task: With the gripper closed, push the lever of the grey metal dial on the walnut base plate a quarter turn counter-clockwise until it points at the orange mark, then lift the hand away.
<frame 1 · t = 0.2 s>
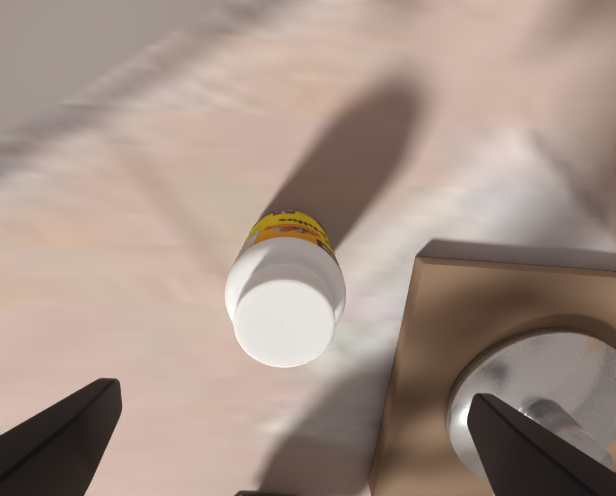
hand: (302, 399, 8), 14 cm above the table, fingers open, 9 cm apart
dial base: (517, 390, 27), on the table
supplement bottle: (288, 245, 22), on the table
dial: (550, 449, 23), point 4 cm above the table, hinge at 0.0°
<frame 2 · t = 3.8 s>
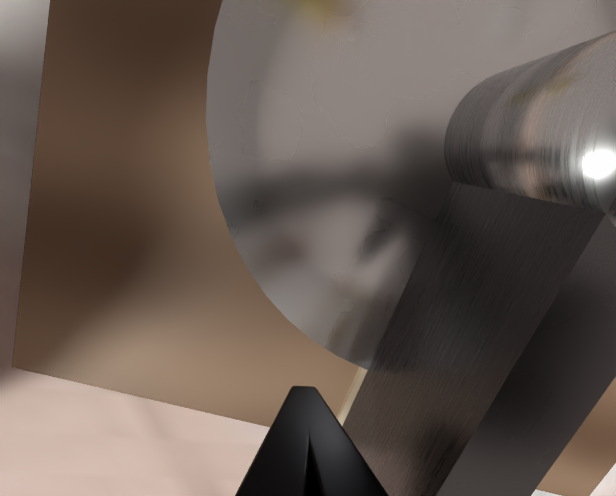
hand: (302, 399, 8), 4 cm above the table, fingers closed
dial base: (452, 142, 10), on the table
dial: (517, 212, 7), point 4 cm above the table, hinge at 0.8°, touching gripper
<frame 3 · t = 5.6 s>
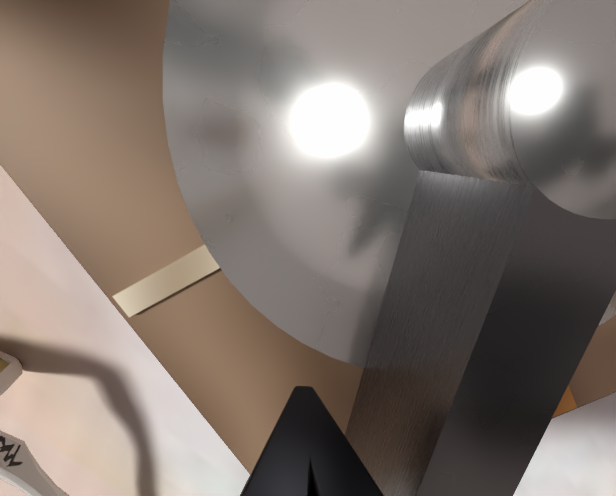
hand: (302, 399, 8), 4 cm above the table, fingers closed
dial base: (425, 129, 10), on the table
dial: (481, 193, 6), point 4 cm above the table, hinge at 50.2°, touching gripper
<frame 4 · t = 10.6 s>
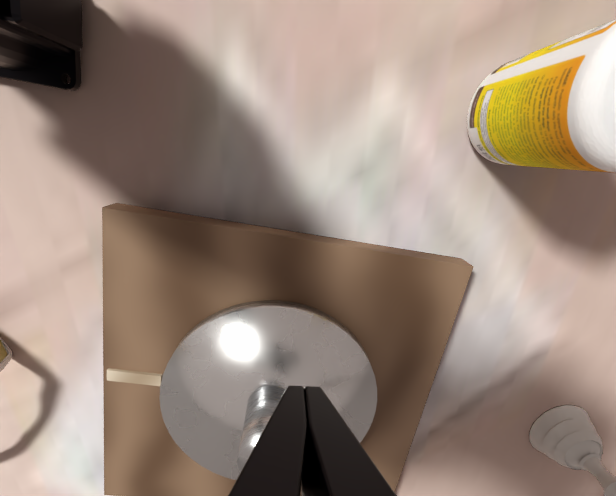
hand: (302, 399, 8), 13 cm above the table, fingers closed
dial base: (272, 376, 23), on the table
supplement bottle: (506, 115, 19), on the table
chalice: (557, 427, 27), on the table
dial: (267, 442, 20), point 4 cm above the table, hinge at 93.6°
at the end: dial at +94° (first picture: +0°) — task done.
